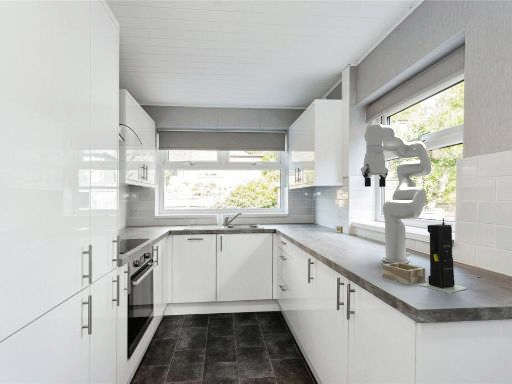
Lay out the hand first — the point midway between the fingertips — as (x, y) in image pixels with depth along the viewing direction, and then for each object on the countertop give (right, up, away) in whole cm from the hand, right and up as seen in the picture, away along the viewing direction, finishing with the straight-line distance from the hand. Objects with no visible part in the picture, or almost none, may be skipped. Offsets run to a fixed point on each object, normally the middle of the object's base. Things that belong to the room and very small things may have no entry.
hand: (375, 186), depth 138 cm
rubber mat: (+13, -38, -30) cm, 50 cm away
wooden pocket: (+4, -38, -19) cm, 43 cm away
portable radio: (+12, -38, -30) cm, 50 cm away
